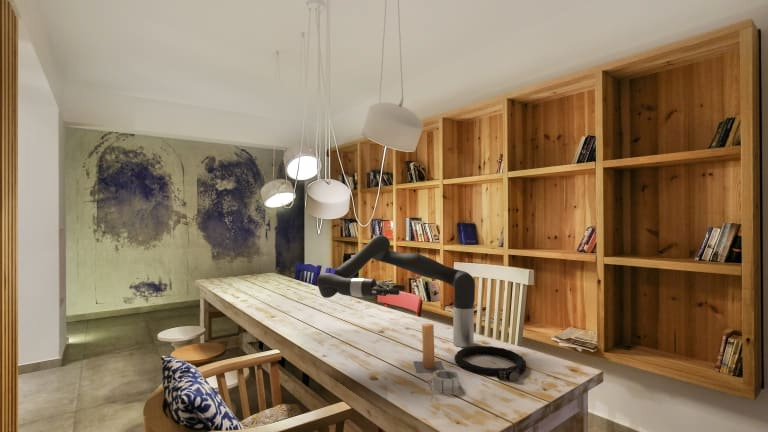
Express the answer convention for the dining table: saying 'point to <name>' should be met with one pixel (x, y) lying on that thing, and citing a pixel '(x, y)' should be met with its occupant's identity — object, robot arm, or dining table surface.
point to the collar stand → (445, 383)
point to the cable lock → (503, 373)
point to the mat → (421, 369)
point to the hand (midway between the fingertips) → (402, 289)
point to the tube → (428, 346)
